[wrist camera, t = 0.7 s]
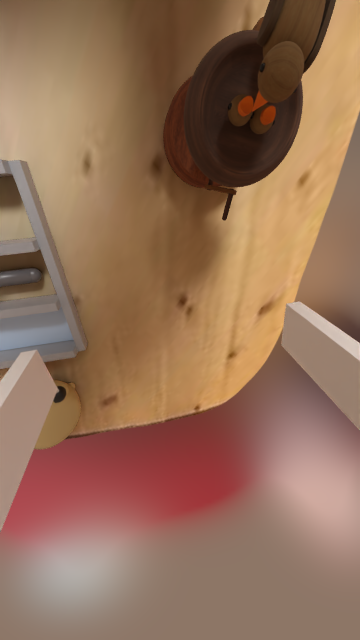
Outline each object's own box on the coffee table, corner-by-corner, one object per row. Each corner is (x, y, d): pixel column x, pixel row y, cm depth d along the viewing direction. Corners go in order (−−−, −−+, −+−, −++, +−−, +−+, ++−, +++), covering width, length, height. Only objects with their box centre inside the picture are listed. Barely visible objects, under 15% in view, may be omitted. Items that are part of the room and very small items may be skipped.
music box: (159, 53, 25) (257, -244, 8) (252, 72, 27) (479, -121, 10) (157, 211, 32) (207, 237, 15) (232, 215, 35) (346, 239, 18)
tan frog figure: (83, 359, 42) (68, 407, 32) (87, 407, 47) (75, 460, 38) (21, 359, 40) (-14, 410, 30) (33, 409, 45) (6, 465, 36)
